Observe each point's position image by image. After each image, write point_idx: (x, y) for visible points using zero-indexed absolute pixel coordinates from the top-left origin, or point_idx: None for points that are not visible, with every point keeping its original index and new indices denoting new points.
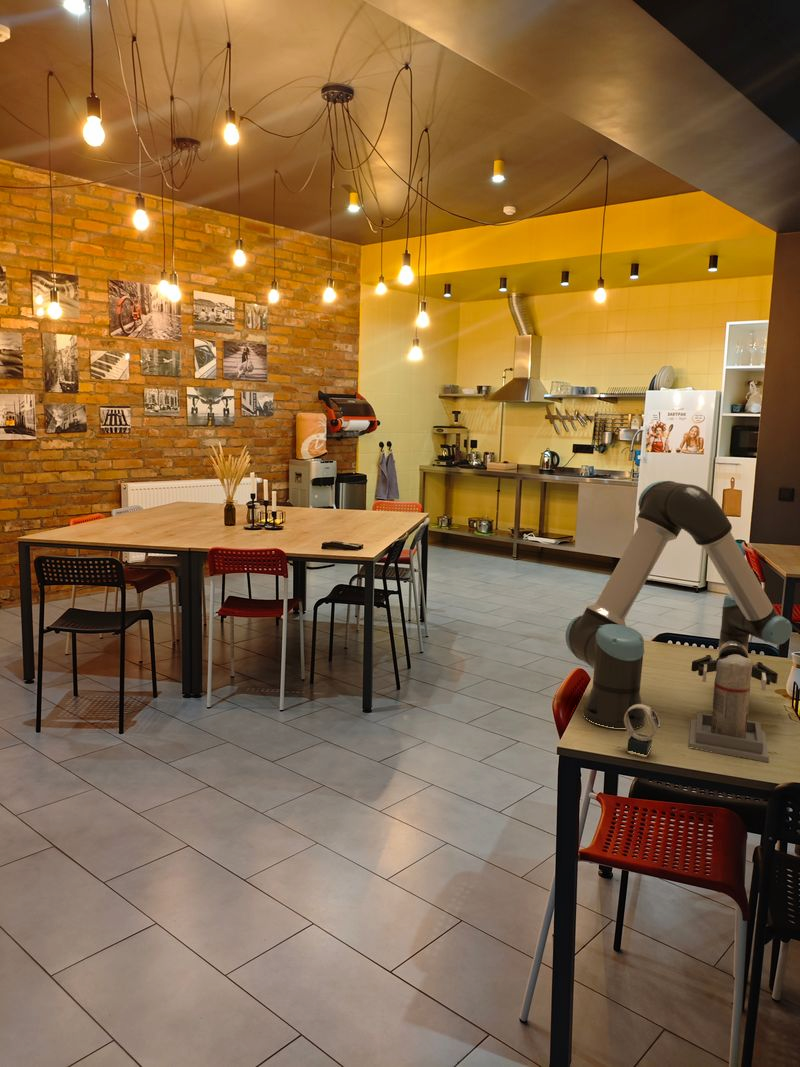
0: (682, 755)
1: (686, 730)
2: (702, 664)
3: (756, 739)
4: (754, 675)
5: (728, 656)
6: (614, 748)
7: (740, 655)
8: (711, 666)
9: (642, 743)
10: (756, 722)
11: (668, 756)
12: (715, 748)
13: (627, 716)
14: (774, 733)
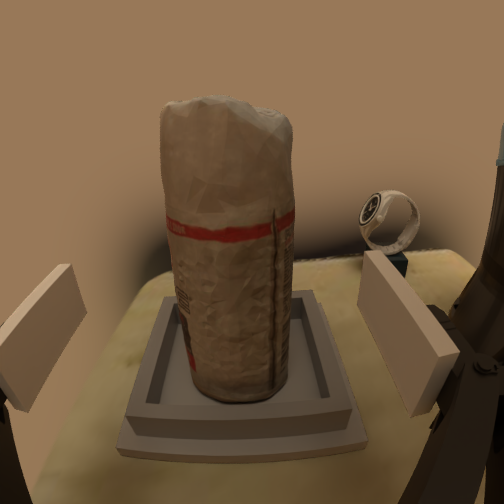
0: (320, 287)
1: (357, 391)
2: (469, 358)
3: (169, 328)
4: (16, 480)
5: (248, 105)
6: (413, 266)
7: (195, 97)
8: (424, 469)
9: (374, 243)
10: (138, 409)
11: (339, 276)
12: None
13: (413, 217)
14: (82, 482)
